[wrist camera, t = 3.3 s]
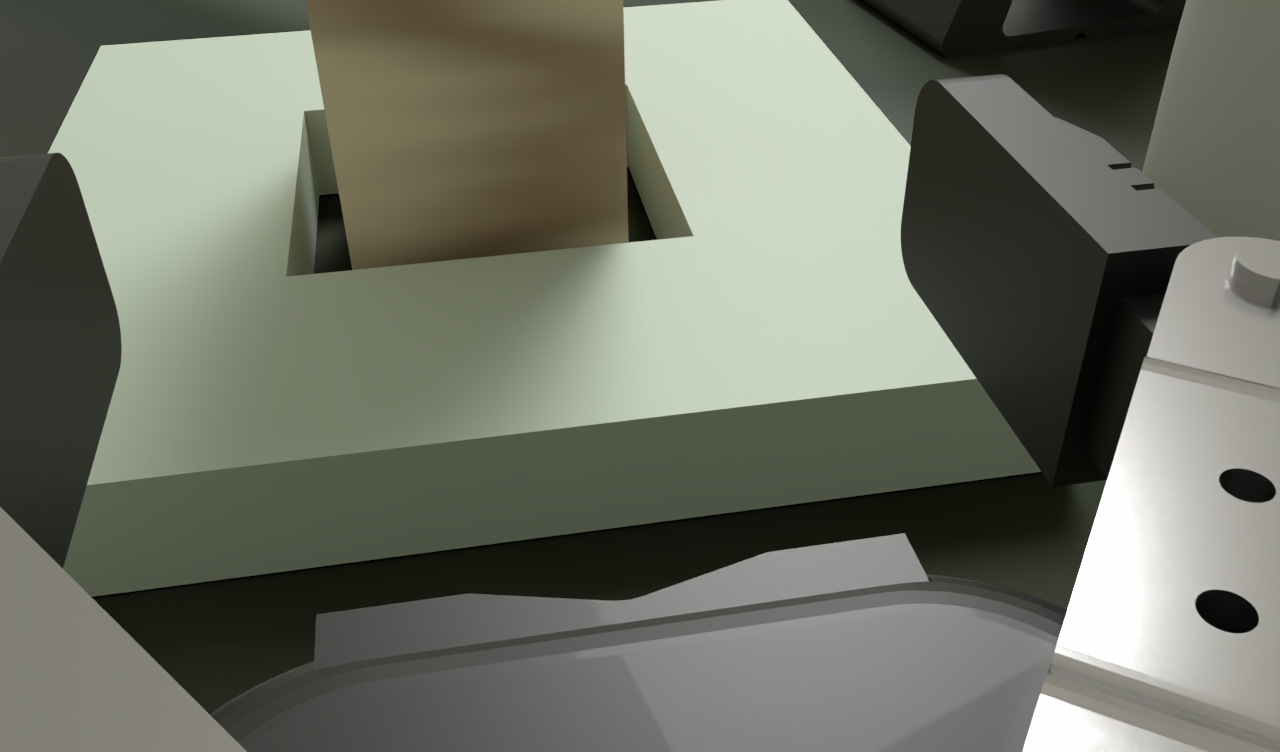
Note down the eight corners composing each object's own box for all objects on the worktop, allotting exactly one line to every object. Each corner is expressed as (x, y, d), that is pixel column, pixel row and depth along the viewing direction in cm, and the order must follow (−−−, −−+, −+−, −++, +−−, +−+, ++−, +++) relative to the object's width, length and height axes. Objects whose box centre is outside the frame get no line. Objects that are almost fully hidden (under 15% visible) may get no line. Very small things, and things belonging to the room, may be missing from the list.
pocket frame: (779, 69, 33) (784, -4, 32) (1068, 468, 19) (1093, 364, 18) (122, 123, 31) (100, 45, 30) (-75, 618, 17) (-130, 510, 16)
